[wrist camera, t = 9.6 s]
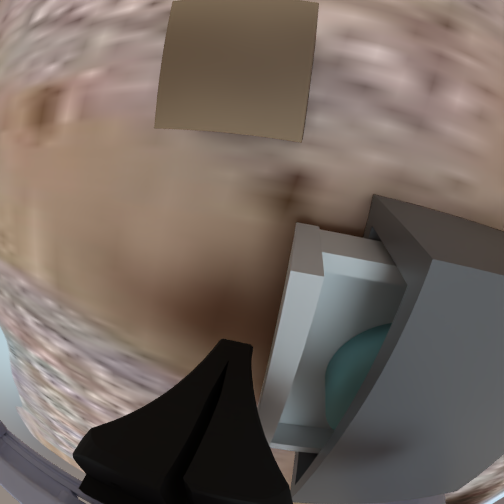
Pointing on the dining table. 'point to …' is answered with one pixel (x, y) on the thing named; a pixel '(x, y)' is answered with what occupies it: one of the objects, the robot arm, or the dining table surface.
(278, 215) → the dining table surface
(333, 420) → the teal round puck
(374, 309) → the tray
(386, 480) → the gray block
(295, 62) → the walnut block
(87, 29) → the dining table surface
